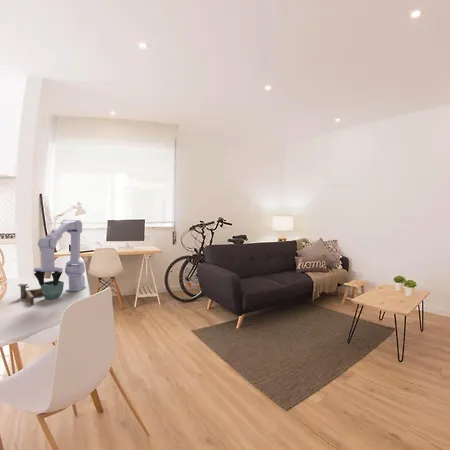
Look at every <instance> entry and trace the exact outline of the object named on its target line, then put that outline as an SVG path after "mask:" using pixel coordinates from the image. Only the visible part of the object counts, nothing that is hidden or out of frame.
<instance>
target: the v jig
mask: <svg viewBox="0 0 450 450" xmlns="http://www.w3.org/2000/svg"><path fill="white" fill-rule="evenodd" d="M28 285H29V283H28V282H22V283H18V284H17V286H18V287H20V298H21V299H26V300H27V302H28V303H29V305H30V306H31V305H35V298H36V297H41V296H43V294H42V291H41V287H40V288H34V289H29V288H30V286H28ZM28 289H29V290H28Z"/></svg>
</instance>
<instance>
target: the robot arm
mask: <svg viewBox="0 0 450 450" xmlns="http://www.w3.org/2000/svg"><path fill="white" fill-rule="evenodd" d="M65 232H66V233H68V234H70V252H69V253H70V255H69V257H70V259H69V261H67V262H66V263H65V267H64V268H63V267H57V266H55V248H56V247H57V244H58V241H59V240H61V238H62V237H63V234H64V233H65ZM82 233H83V223H82V221H81V219H63V220H62V221H61V222H60V226H59V227H58V228H57V229H52V230H51V231H50V232H49V233H48V234H47V235H46V236H44V237H41V238H39V240H38V242H37V246H38V248H39V251H40V254H41V255H40V258H41V260H40V261H41V267H34V268H33V275H34V277H36V280H37V281H38V284H39V286H40V287H41V286H42V285H44V282H45V274H46V273H47V272H48V273H51V276H52V281H53V284H54V286H56V285H58V281H60V278H61V276H62V274H63V269H64V273H65V274H66V275H67V277H68V288H67V289H66V290H65V292H79V291H81V290H83V289H85V288H87V286H86V280H85V279H86V278H85V276H84V274H85V272H86V268H85V263H84V261H82V260H81V259H80V255H81V253H80V251H81V250H80V249H81V234H82Z"/></svg>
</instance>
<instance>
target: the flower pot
mask: <svg viewBox="0 0 450 450" xmlns="http://www.w3.org/2000/svg"><path fill="white" fill-rule="evenodd" d="M64 285H65V282H64V281H61V280H59V281H58V285H56V286H54V284H53V280H49V281H44V285H42V286H40V288H41V291H42V294H43V295H42V296H43V297H44V298H45V299H48V300H54V299H58V298H60V297H61V296H62V294H63V292H64Z"/></svg>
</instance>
